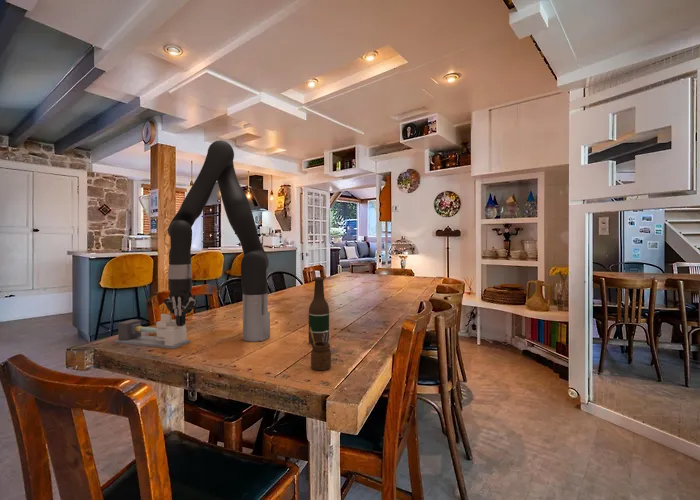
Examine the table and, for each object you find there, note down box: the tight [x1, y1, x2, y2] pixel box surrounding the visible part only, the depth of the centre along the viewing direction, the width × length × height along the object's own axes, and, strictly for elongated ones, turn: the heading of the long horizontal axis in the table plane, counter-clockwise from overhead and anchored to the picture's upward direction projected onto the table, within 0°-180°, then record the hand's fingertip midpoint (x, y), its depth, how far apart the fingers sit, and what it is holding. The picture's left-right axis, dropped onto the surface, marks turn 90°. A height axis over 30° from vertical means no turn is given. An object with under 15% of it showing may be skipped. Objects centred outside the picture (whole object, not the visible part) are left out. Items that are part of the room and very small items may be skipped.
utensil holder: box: [310, 327, 332, 371], centre depth 102 cm, size 6×6×12 cm
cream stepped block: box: [155, 313, 176, 341], centre depth 124 cm, size 4×5×9 cm
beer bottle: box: [308, 276, 330, 346], centre depth 127 cm, size 8×8×24 cm
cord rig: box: [114, 319, 191, 350], centre depth 126 cm, size 26×8×7 cm, turn 75°
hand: (180, 325), depth 122 cm, fingers closed
